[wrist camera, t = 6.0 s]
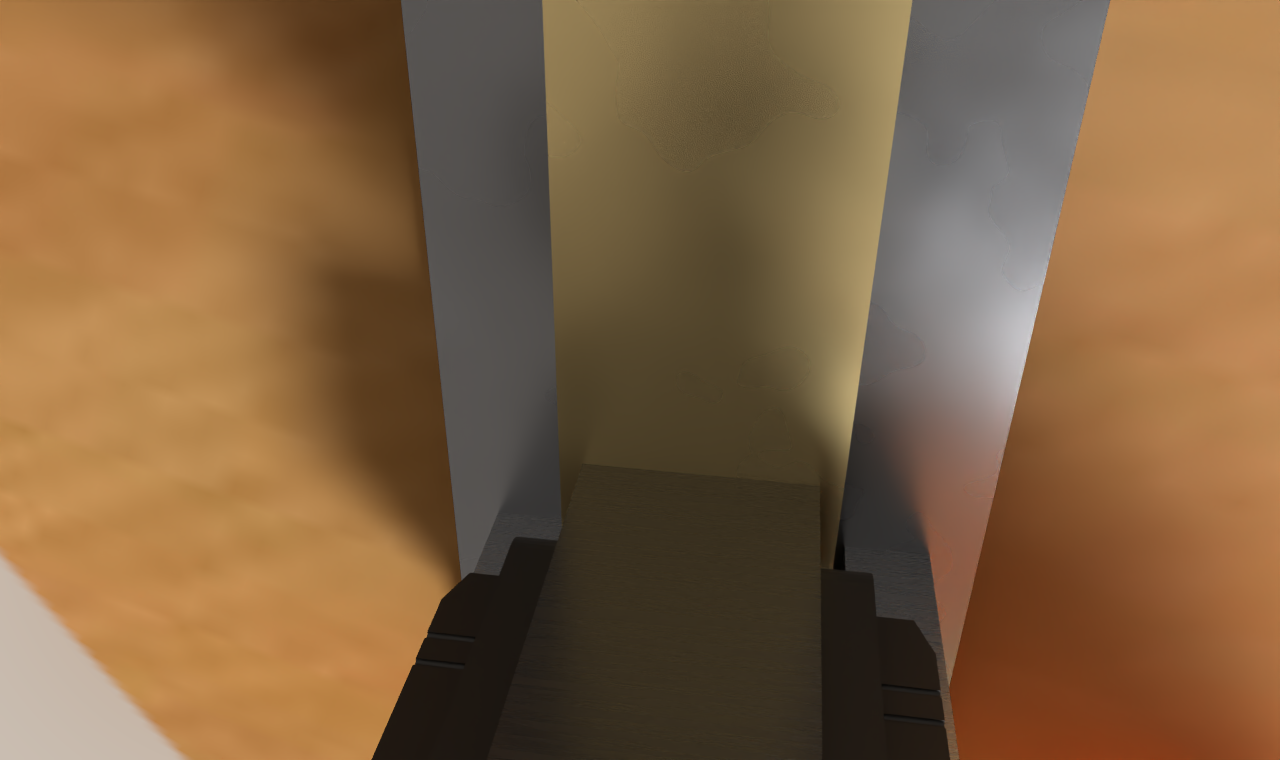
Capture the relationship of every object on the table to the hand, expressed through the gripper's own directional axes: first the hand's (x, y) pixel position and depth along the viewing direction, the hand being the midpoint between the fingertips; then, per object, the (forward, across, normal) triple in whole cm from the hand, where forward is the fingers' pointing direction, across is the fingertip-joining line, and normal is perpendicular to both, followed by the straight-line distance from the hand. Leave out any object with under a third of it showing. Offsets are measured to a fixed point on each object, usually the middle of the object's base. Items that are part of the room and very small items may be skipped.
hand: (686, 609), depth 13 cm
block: (+4, 0, -3) cm, 5 cm away
